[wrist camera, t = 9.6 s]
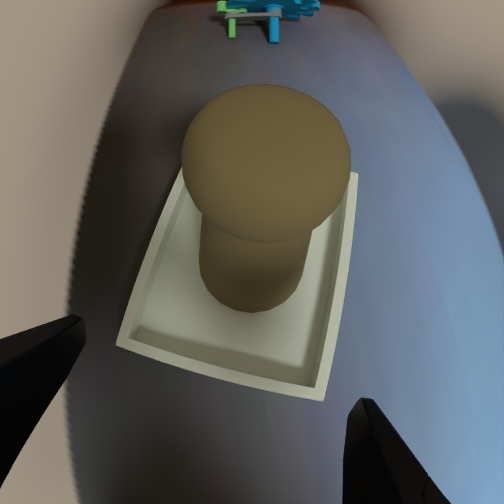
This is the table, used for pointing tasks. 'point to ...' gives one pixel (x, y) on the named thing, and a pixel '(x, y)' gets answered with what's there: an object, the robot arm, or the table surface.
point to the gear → (265, 12)
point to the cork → (262, 189)
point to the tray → (237, 322)
